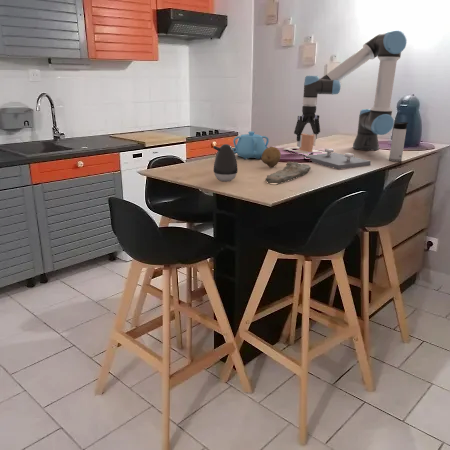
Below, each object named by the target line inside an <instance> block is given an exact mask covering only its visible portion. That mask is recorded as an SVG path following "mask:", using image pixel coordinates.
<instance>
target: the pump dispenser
mask: <svg viewBox="0 0 450 450" xmlns="http://www.w3.org/2000/svg"><path fill="white" fill-rule="evenodd" d="M213 149H214V150H216V151H217V153H216V156H215V159H214V164H213V173H214V176H215V178H216V179H217V180H218V181H220V182H231V181H233V180H234V179H235V178H236V176H237V174H238V160H237V157H236V153H234V151H235V150H234V151H233V147H232V146H231V145H230V144H226V143H224V144H222V145H221V146H219V147H218V146H216V145H214V146H213Z"/></svg>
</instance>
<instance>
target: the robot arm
mask: <svg viewBox="0 0 450 450" xmlns="http://www.w3.org/2000/svg"><path fill="white" fill-rule="evenodd" d="M407 41H408V40H407V36H406V35H405V33H404V31H401V30H399V29H390V30H385V31H380V32H379V33H377V34H376V35H375V36H373V37H372V38H371V39H369V40H368V41H367V42H365V43H364V44H363V45H362V47H361V48H360V49H359V50H357V51H356V52H355V53H354V54H351V56H349V57H348V58H347V59H345V60H344V61H342V62H341V63H340V64H339V65H337V66H335V67H334V68H333V69H331V70H330V71H329V72H327V74H324V76H322V77H321V78H320V76H318V75H306V76H305V77H304V83H303V95H302V96H303V97H302V109H301V112H302V114H301V115H297V121H296V124H295V128H294V131H293V134H294V135H296V141H297V143H296V147H301V142H302V135H301V134H303V132H304V129H305V128H306V125H307V124H309V125H310V127H311V130H312V134H311V135H314V138H313V147H316V141H317V139H318V138H317V137H318V135H319V133H321V126H320V115H319V114H316V112H317V104H318V95H339V93H340V92H341V91H340V90H341V89H342V88H341V85H342V84H341V82H340V81H342V80H343V79H345V78H347V77H348V75H350V74H352V73H353V72H354V71H356V70H357V69H358V68H360V67H361V66H362V65H364V64H365V63H367V62H368V61H369V60H374V59H375V58H377V59H378V60H379V66H378V73H377V81H376V87H375V95H374V100H373V102H374V103H373V107H371V108H365V109H361V110H360V111H359V116H358V117H359V118H358V123H357V124H358V125H357V131H356V132H357V134H356V136H355V139H354V141H353V143H352V148H353V149H355V150H362V151H377V150H379V148H380V144H379V139H378V138H379V137H378V135H380V136H384V135H387V134H389V133H390V132H391V130H392V129H394V124H395V120H394V118H393V116H392V113H393V110H392V108H391V100H392V95H393V88H394V81H395V75H396V70H397V63H398V60H400V59H401V55H402V53H403V51H404V50H405V48H406V46H407V43H408V42H407Z"/></svg>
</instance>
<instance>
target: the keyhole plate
mask: <svg viewBox="0 0 450 450" xmlns="http://www.w3.org/2000/svg"><path fill="white" fill-rule="evenodd" d="M301 135H302V142H301V147H297V146H293V147H292V146H291V147H283V149H282V150H283V151H284V150H289V151H294V152H298V153H303V154H307V155H309V154H308V152H322V153H325V154H327V152H325V151H322V150H319V149H315V148H313V147H314V146H313V138H314V135H312V134H309V133H303V132H302V133H301ZM292 149H299V150H292Z"/></svg>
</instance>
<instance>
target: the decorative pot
mask: <svg viewBox="0 0 450 450" xmlns="http://www.w3.org/2000/svg"><path fill="white" fill-rule="evenodd" d="M264 138H265V139H266V142H265V141H264ZM236 140H237V142H236ZM232 141H233V146H234V147H232V149H233V151H234V153H235V154H237V155H238V156H239V157H241V158H243V160H249V159H250V158H252V159H254V158H255V159H256V160H259V159H261V158H262V154H263V152H264V150H265V149H267V148H268V145H269V142H270V139H269V137H268V136H266V135H260V134H257V133H255V131H248V133H247V134H246V133H245V134H241V135H240V136H239V135H238V136H235V137H234V138H233V140H232Z"/></svg>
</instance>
